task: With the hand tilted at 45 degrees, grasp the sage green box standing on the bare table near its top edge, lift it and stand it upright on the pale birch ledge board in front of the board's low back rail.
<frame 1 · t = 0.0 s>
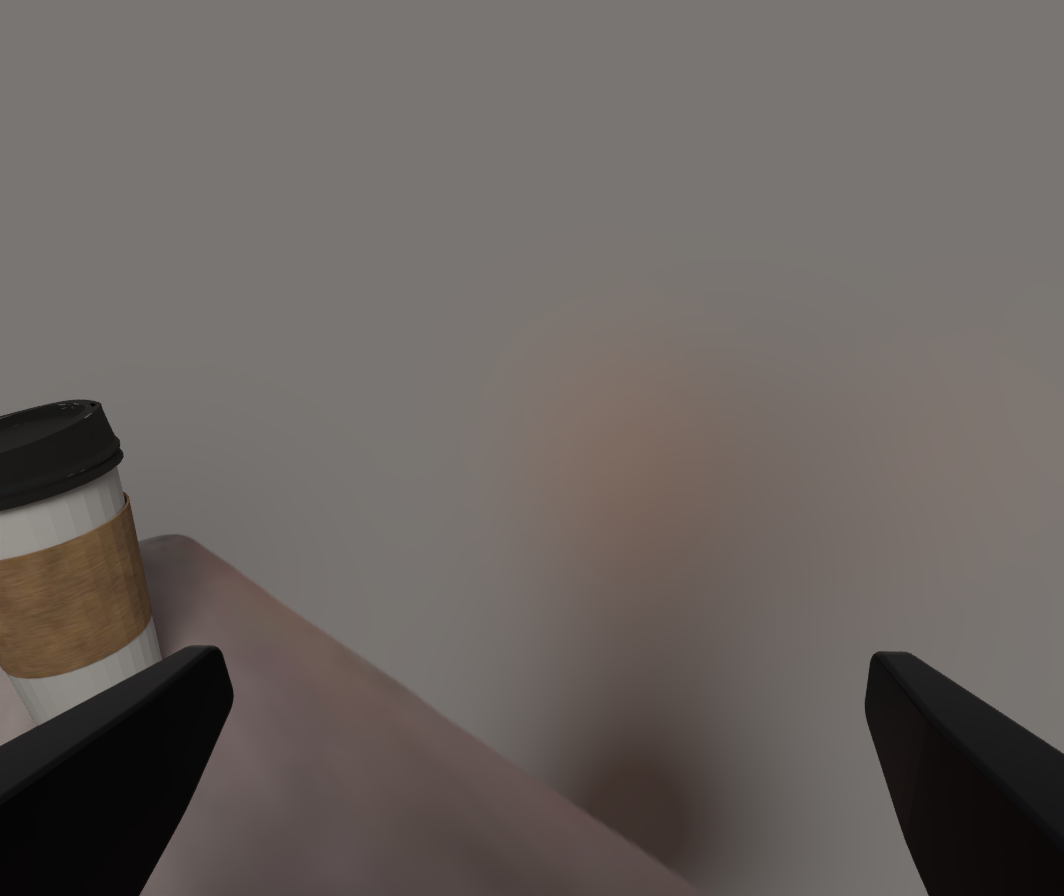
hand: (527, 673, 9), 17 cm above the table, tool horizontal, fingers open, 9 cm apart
coffee cup: (103, 695, 35), on the table
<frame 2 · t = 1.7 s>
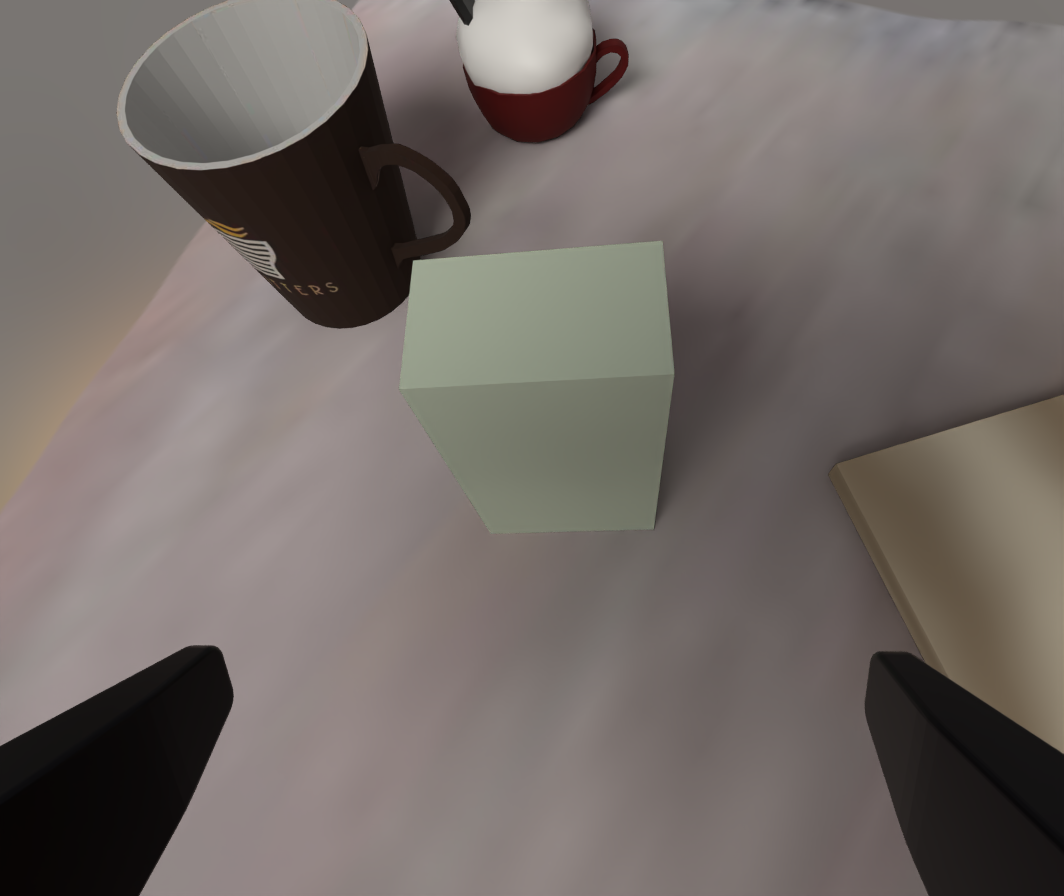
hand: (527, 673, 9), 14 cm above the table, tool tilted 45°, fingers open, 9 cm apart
cocoa: (533, 118, 34), on the table
sage green box: (570, 485, 25), on the table
coffee mug: (371, 293, 30), on the table
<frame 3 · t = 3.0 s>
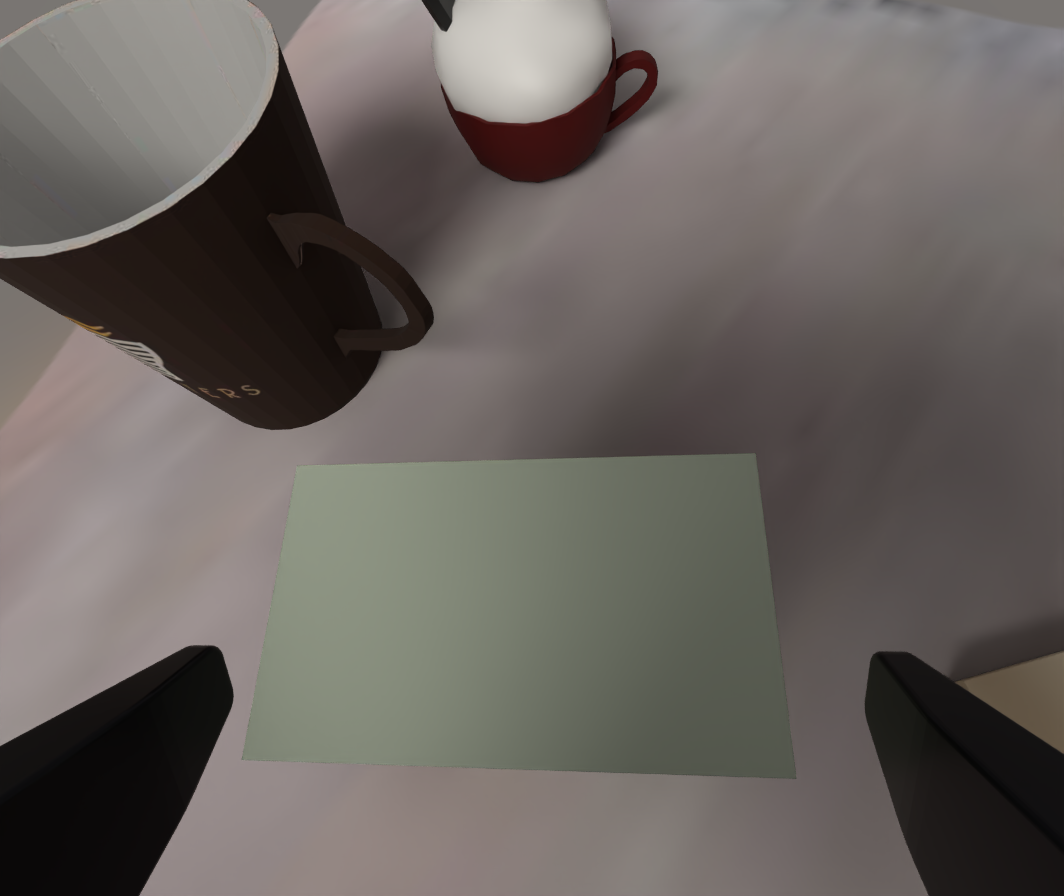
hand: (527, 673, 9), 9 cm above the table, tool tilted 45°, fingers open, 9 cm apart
cocoa: (533, 149, 26), on the table
sage green box: (574, 681, 18), on the table
coffee mug: (317, 381, 23), on the table
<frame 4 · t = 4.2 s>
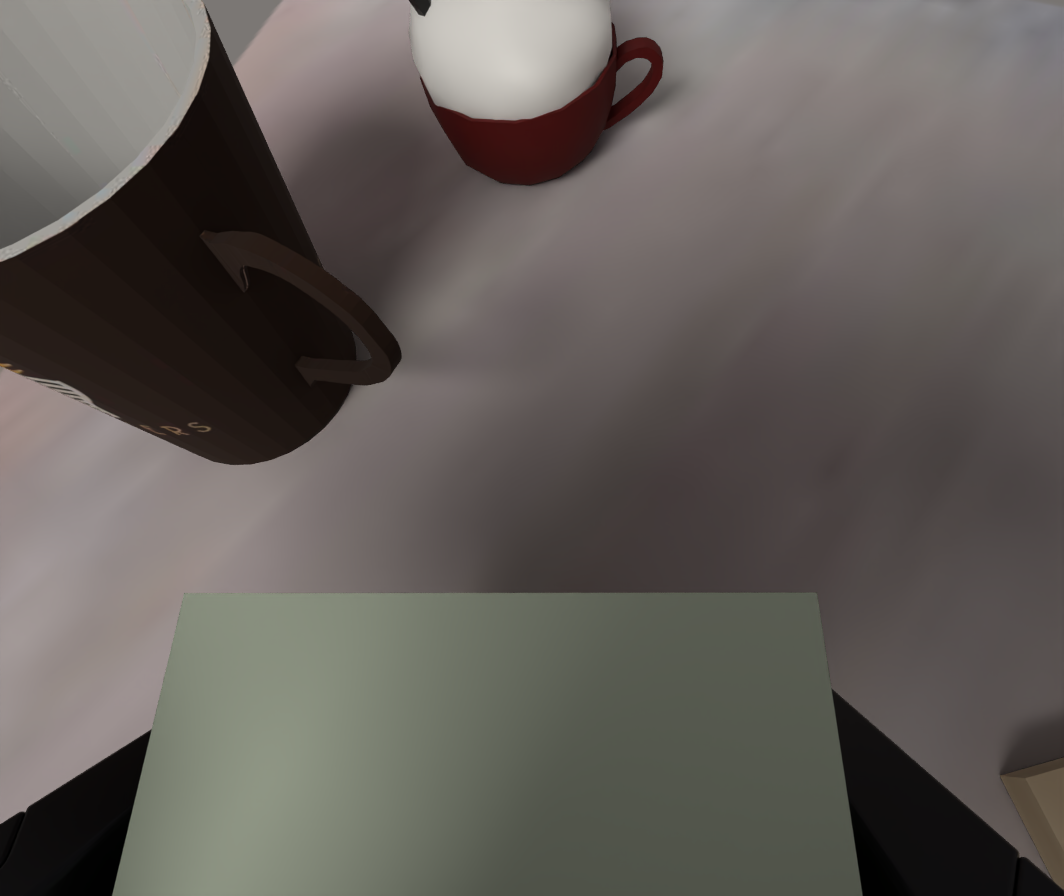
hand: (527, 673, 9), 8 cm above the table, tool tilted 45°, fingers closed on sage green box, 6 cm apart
cocoa: (525, 147, 24), on the table
sage green box: (569, 764, 15), on the table, touching gripper
coffee mug: (283, 408, 21), on the table
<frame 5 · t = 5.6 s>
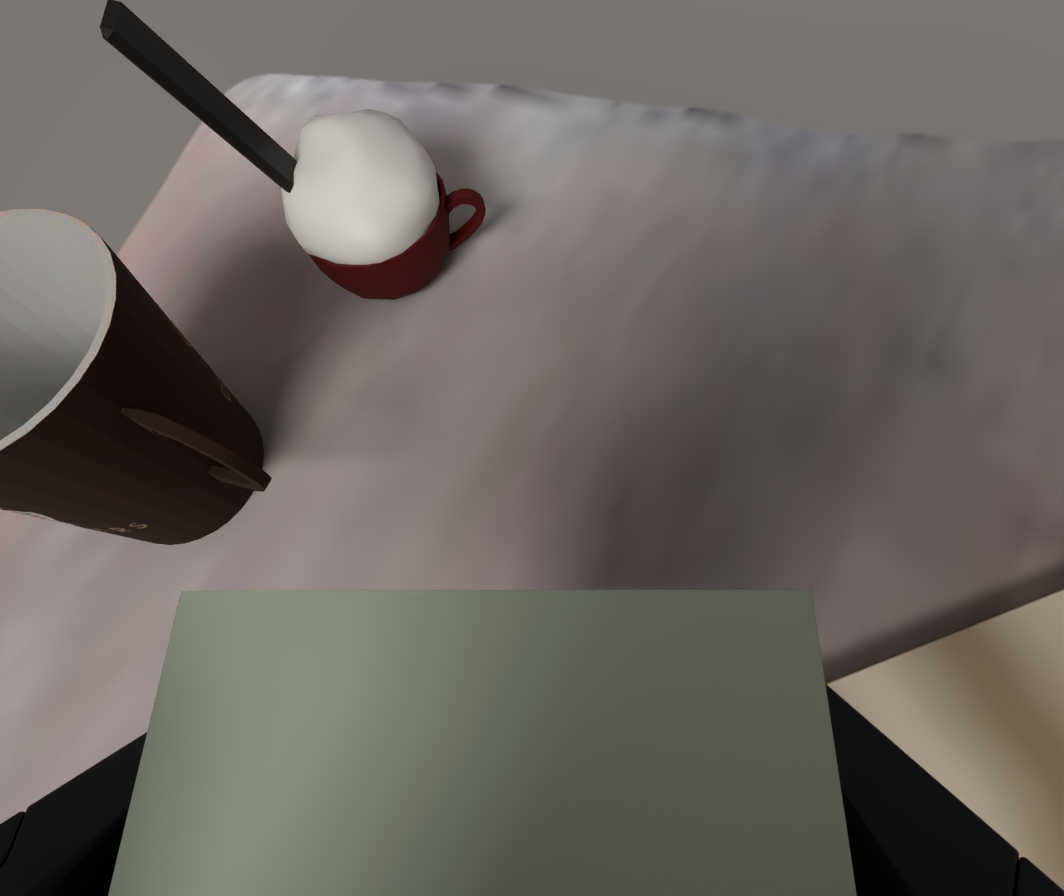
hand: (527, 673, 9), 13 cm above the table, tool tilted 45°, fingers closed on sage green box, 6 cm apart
cocoa: (392, 264, 30), on the table
sage green box: (567, 763, 15), point 6 cm above the table, touching gripper
ledge board: (1061, 874, 18), on the table
coffee mug: (208, 495, 26), on the table
when the fingers open (10 cm above the table, at t = 7.4 s): sage green box drops 1 cm, resting on ledge board.
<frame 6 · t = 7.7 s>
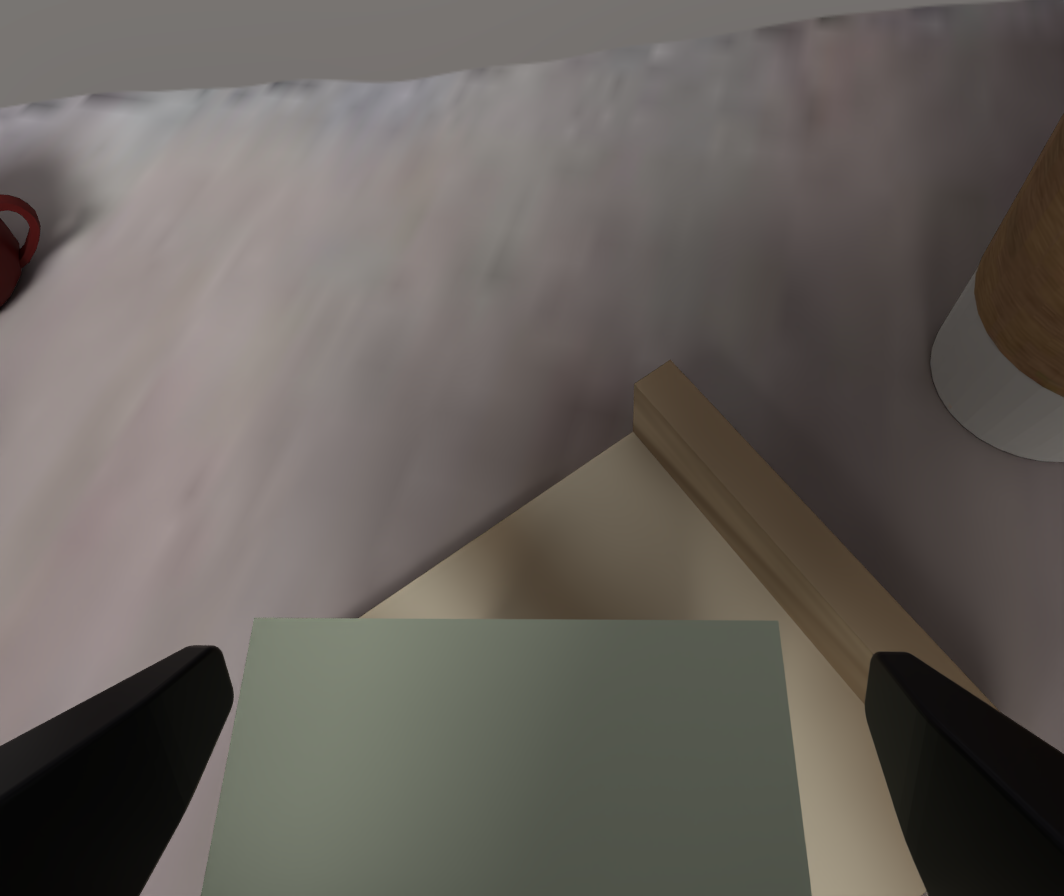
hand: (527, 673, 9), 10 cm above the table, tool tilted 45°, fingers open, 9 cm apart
sage green box: (572, 761, 17), point 1 cm above the table, touching ledge board
ledge board: (606, 738, 18), on the table
coffee cup: (1029, 378, 20), on the table
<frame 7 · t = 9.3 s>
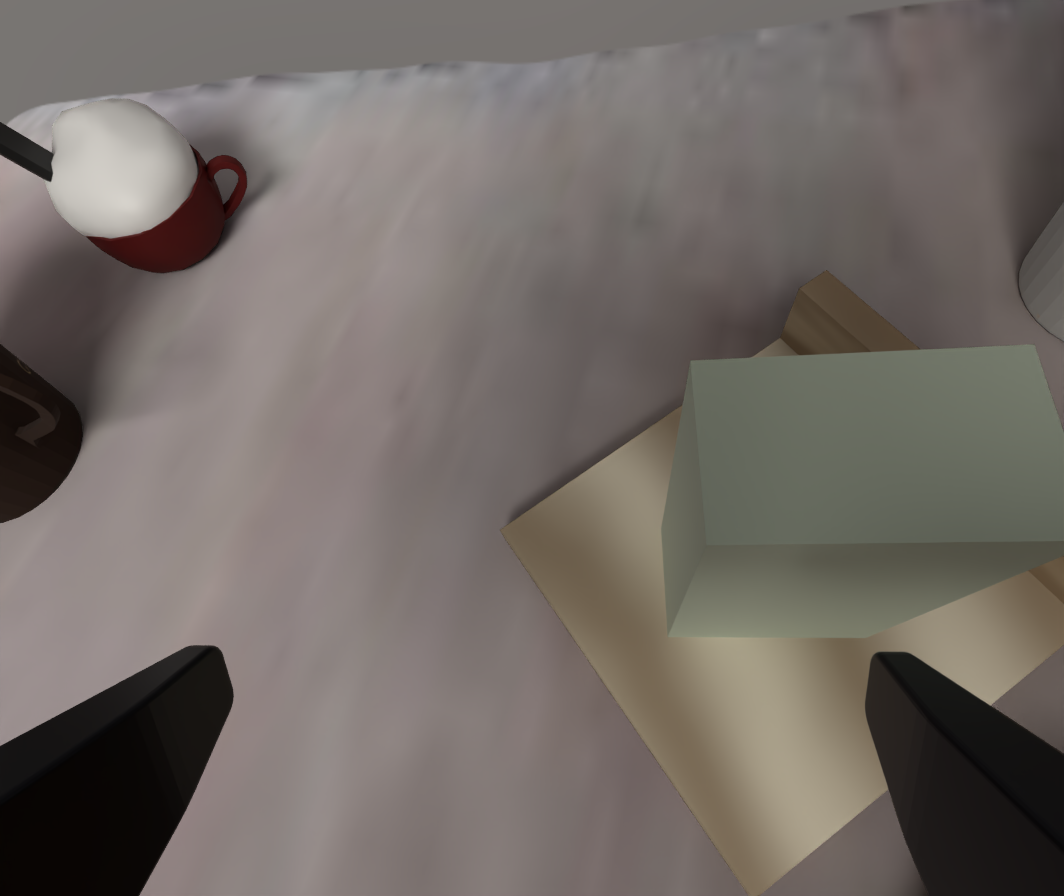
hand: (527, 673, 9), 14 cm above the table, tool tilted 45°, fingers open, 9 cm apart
cocoa: (180, 242, 33), on the table
sage green box: (757, 580, 21), point 1 cm above the table, touching ledge board
ledge board: (776, 570, 22), on the table
coffee mug: (35, 473, 28), on the table
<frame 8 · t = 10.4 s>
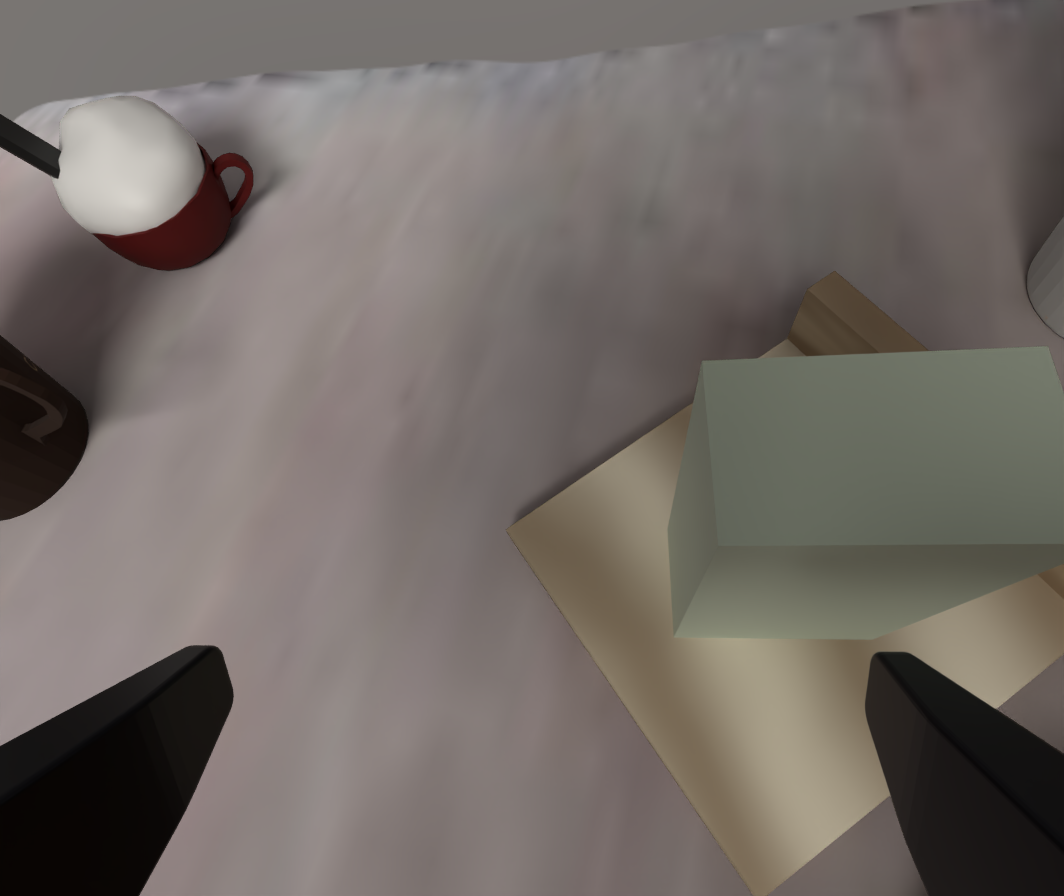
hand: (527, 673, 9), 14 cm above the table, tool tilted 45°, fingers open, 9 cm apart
cocoa: (187, 240, 33), on the table
sage green box: (764, 581, 21), point 1 cm above the table, touching ledge board
ledge board: (782, 571, 22), on the table
coffee mug: (41, 470, 28), on the table
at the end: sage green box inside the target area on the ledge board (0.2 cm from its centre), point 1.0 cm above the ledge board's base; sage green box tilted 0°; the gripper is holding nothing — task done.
